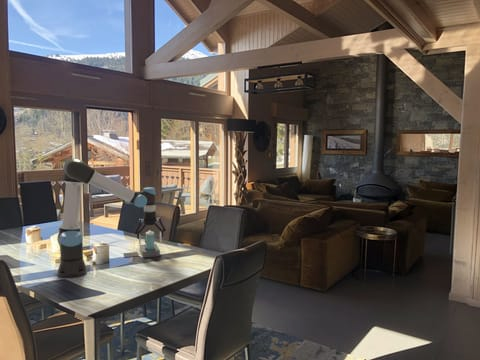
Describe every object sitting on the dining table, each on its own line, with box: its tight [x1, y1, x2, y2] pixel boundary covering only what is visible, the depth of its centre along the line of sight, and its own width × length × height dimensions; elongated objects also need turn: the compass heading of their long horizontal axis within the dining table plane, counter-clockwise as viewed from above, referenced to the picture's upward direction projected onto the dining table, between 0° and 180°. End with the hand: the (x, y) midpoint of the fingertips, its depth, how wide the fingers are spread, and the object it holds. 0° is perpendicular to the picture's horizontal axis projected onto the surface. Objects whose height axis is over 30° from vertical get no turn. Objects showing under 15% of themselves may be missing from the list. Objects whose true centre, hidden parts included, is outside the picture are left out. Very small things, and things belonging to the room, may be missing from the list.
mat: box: [122, 251, 140, 259], centre depth 249 cm, size 9×9×1 cm
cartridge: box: [145, 229, 155, 251], centre depth 249 cm, size 5×5×16 cm
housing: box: [139, 243, 161, 259], centre depth 253 cm, size 17×11×4 cm, turn 22°
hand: (150, 242), depth 249 cm, fingers open, 13 cm apart
